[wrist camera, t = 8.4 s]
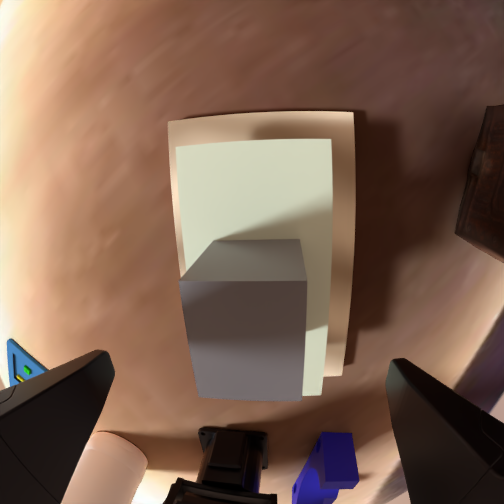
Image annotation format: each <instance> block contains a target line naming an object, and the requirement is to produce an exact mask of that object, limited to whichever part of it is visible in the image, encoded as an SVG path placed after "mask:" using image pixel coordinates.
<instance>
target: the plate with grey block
mask: <svg viewBox="0 0 504 504" xmlns="http://www.w3.org/2000/svg"><path fill="white" fill-rule="evenodd" d="M176 165H177V180H178V193H179V205H180V216H181V227H182V237H183V247H184V256H185V264H186V273H185V274H184V275H183V276H182V277H181V279H180V280H179V287H180V294H181V301H182V307H183V314H184V320H185V326H186V332H187V338H188V344H189V349H190V355H191V360H192V366H193V371H194V376H195V381H196V386H197V391H198V396H199V397H204V398H216V399H230V400H250V401H302V396H312V395H321V392H322V383H323V374H324V365H325V355H326V344H327V332H328V319H329V304H330V287H331V264H332V224H333V185H332V146H331V139H272V140H249V141H233V142H219V143H208V144H197V145H188V146H179V147H176Z"/></svg>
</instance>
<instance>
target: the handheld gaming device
mask: <svg viewBox="0 0 504 504" xmlns="http://www.w3.org/2000/svg"><path fill="white" fill-rule="evenodd" d="M7 356H8V370H9V381H10V387H11V386H13V385H17V384H18V383H21V382H23V381H25V380H28V379H30V378H32V377H35V376H37V375H39V374H42V373H44V372H46V371H48V370H47V369H46V368H44V367H43V366H42V365H41V364H39V363H38V362H37V361H36V360H35V359H33V358H32V357H31V356H30V355H29V354H28V353H27V352H25V351H24V350H23V349H22V348H21V347H20V346H19V345H18V344H16V343H15V342H14V341H13V340H12V339H9V340H8V341H7Z"/></svg>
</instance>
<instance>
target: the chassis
mask: <svg viewBox="0 0 504 504" xmlns="http://www.w3.org/2000/svg"><path fill="white" fill-rule="evenodd" d="M272 139H331V146H332V185H333V224H332V264H331V287H330V304H329V319H328V332H327V344H326V355H325V365H324V374H323V376H342V370H343V363H344V356H345V348H346V340H347V331H348V322H349V313H350V302H351V291H352V277H353V262H354V242H355V205H356V173H355V138H354V118H353V112H330V111H285V112H259V113H242V114H229V115H218V116H208V117H199V118H191V119H183V120H176V121H169V122H168V141H169V159H170V174H171V188H172V200H173V211H174V222H175V231H176V241H177V250H178V258H179V266H180V274H181V277H182V276H183V275H184V274H185V273H186V264H185V256H184V247H183V237H182V227H181V216H180V205H179V193H178V180H177V165H176V147H179V146H188V145H197V144H208V143H219V142H233V141H249V140H272Z"/></svg>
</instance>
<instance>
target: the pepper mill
mask: <svg viewBox="0 0 504 504" xmlns="http://www.w3.org/2000/svg"><path fill="white" fill-rule="evenodd" d="M455 234H456V235H458V236H459V237H461V238H463V239H464V240H466V241H467V242H469V243H470V244H472V245H473V246H475V247H476V248H478V249H480V250H482V251H483V252H485V253H487V254H489V255H490V256H492V257H494V258H495V259H497V260H499V261H501V262H503V263H504V105H499V106H487V108H486V113H485V117H484V120H483V124H482V128H481V132H480V135H479V138H478V142H477V145H476V148H475V149H474V153H473V156H472V159H471V164H470V168H469V172H468V180H467V184H466V188H465V191H464V195H463V198H462V202H461V205H460V210H459V215H458V220H457V225H456V230H455Z"/></svg>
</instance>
